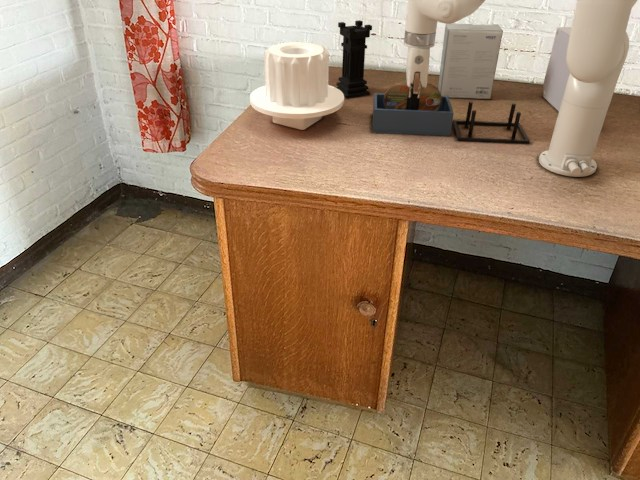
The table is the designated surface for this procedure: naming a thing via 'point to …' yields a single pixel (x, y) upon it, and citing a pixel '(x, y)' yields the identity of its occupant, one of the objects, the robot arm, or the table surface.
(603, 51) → the robot arm
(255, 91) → the flanged gear
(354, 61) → the chess piece
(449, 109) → the open box
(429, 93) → the tin
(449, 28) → the hard drive box
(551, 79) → the game console
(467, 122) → the rack
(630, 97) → the table surface
